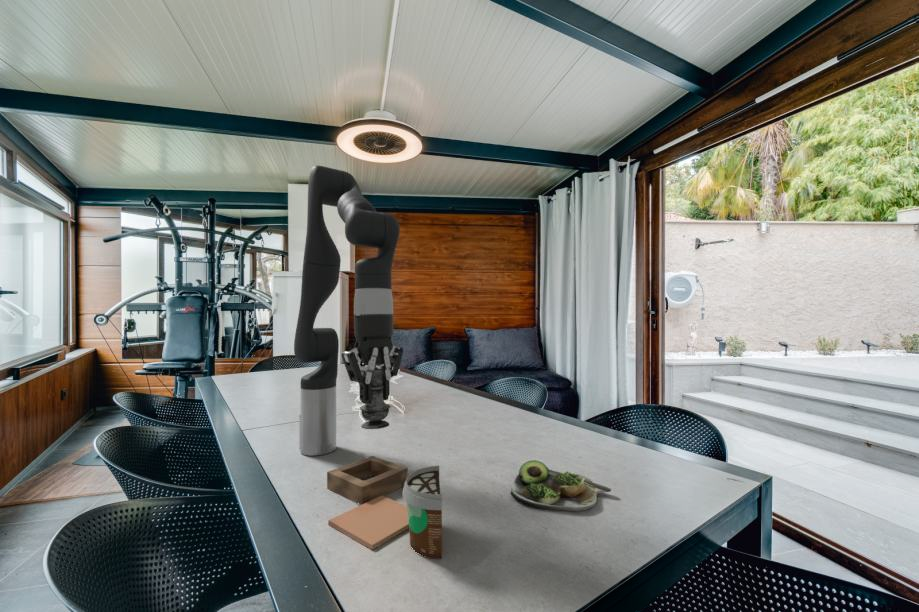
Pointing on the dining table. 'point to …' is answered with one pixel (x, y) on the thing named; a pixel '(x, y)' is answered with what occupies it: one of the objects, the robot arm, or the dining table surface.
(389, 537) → the terracotta tile
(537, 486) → the avocado toast plate
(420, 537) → the food container
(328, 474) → the walnut socket block
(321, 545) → the dining table surface
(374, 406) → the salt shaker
